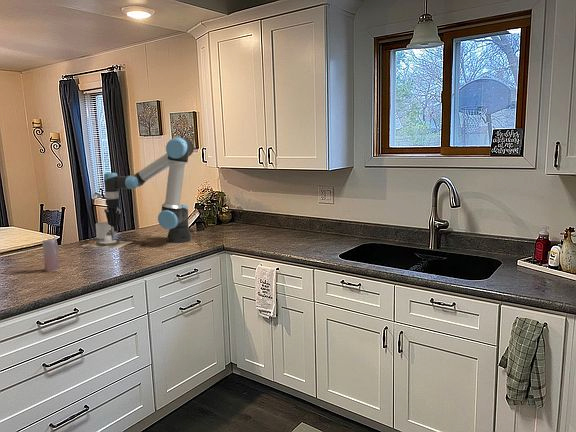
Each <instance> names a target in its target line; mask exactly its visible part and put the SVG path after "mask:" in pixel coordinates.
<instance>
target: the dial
mask: <svg viewBox="0 0 576 432" xmlns="http://www.w3.org/2000/svg"><path fill="white" fill-rule="evenodd" d="M112 239H115V237H112V231H111V229H110V230H109V232H107V235H104V238H103V239H101V240H102V241H99V243H114V242H117V240H112Z"/></svg>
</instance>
